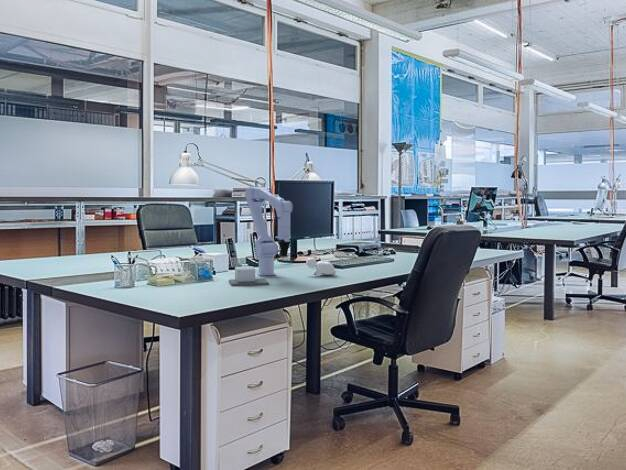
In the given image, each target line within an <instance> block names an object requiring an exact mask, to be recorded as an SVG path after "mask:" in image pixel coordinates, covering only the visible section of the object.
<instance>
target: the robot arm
mask: <svg viewBox="0 0 626 470" xmlns="http://www.w3.org/2000/svg"><path fill="white" fill-rule="evenodd" d="M244 197H245V199H246V200H245V201H246V203H247V206H248V207H249V211H250V216H251V218H252V221H253V225H254V228H255V232H256V235H257V239H256V240H255V241H254V246H255V247H254V248H255V253H256V255H257V257H258V271H257V272H256V274H257V275H259V276H277V274H276V272H275V257H276V255H277V254H278V249H279V250H280V254H281V257H287V256H288V251H289V247H290V245H291V243H292V242H291V240H290V239H291V238H292V237H291V214H292V212H293V209H294V205H293V203H292V201H291V200H285V199H284V198H283V197H281V196H280V195H279V194H273V193H272V192H270V191H269V189H268V188H267V187H265V186H247V187H246V188H245V193H244ZM266 201H268V205H269V206H271V207H272V208H273V209H275V212H276V217H277V236H275V239H278V241H277V243H278V244H277V243H276V241H275V239H274V238H273V237H272V236H270V235H269V232H268V228H267V226H266V222H265V218H264V215H263V212H262V208H261V207H262V206H264V204H265V202H266ZM278 246H279V247H278Z"/></svg>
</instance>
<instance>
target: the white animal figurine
mask: <svg viewBox="0 0 626 470" xmlns="http://www.w3.org/2000/svg"><path fill="white" fill-rule="evenodd" d="M305 265H306V266H307V267H308V268H311V269H313V270H314V271H313V275H314V274H315V277H316V278H319V277H320V276H321V275H323V276H331V275H332V274H333V276H334V277H336V274H337V270H336V268H335V266H334V265H333V264H332V263H331V262H330V261H323V260H320V261H317V260H316V259H315V258H314V257H309V258H307V259H306V262H305ZM314 268H315V269H314ZM318 276H319V277H318Z"/></svg>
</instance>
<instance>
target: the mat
mask: <svg viewBox="0 0 626 470" xmlns="http://www.w3.org/2000/svg"><path fill="white" fill-rule="evenodd" d="M228 283H229V284H230V285H231V287H239V286H241V287H242V286H243V287H244V286H245V287H246V286H248V285H249V286H269V285H270V283H269V281H268V280H267V279H266V278H255V282H237V281H236V279H235V278H234V279H228Z"/></svg>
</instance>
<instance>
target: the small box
mask: <svg viewBox="0 0 626 470" xmlns="http://www.w3.org/2000/svg"><path fill="white" fill-rule="evenodd" d="M234 279H236V281H237V282H255V279H256V269H255V267H253V266H252V265H251V266H235V267H234Z"/></svg>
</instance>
